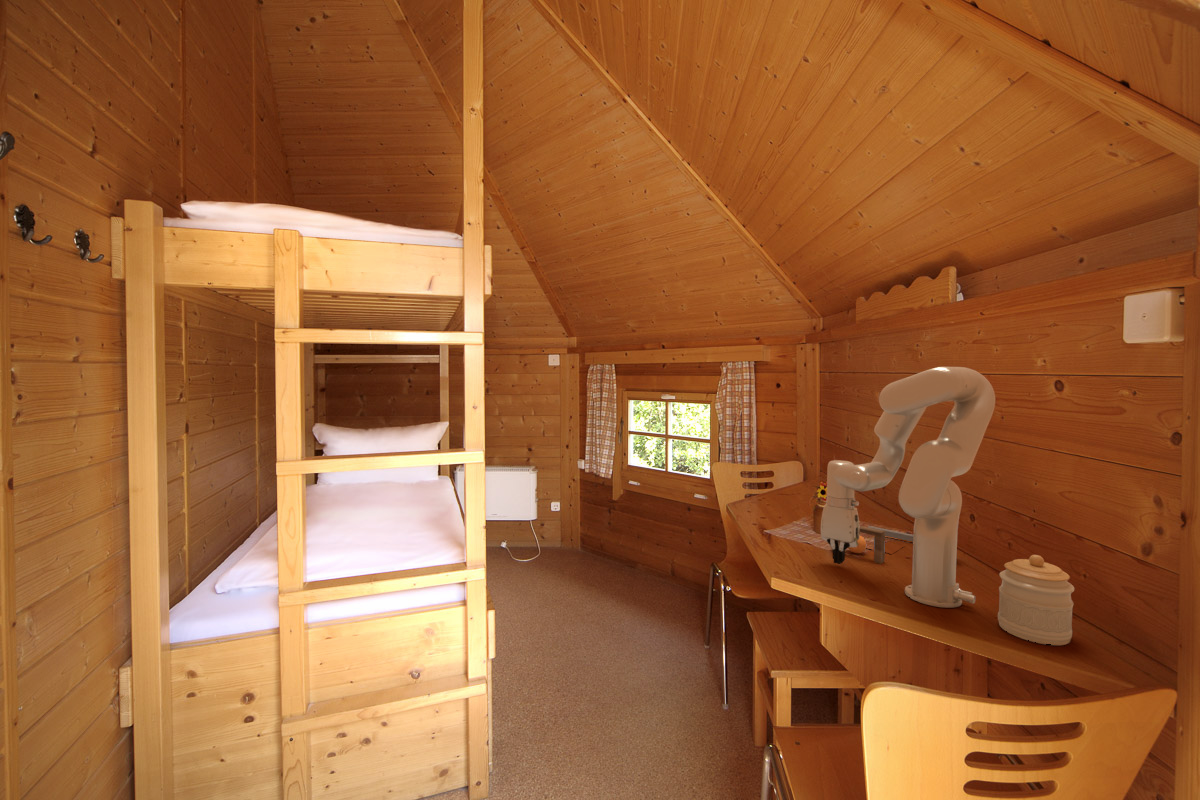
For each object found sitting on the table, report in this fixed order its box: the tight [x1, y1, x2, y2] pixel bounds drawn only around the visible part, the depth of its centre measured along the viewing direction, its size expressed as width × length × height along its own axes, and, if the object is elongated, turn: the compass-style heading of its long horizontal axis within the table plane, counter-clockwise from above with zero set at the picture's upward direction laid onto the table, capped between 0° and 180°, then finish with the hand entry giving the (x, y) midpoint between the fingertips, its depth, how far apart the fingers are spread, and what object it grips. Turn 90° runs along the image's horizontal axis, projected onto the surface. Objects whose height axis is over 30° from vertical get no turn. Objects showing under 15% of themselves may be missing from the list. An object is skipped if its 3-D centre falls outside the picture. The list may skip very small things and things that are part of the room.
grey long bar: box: [866, 525, 914, 542], centre depth 189 cm, size 16×2×2 cm, turn 43°
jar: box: [997, 554, 1075, 646], centre depth 119 cm, size 13×13×18 cm
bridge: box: [831, 525, 886, 565], centre depth 168 cm, size 3×15×10 cm, turn 43°
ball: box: [847, 534, 867, 554], centre depth 172 cm, size 6×6×6 cm
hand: (838, 562), depth 159 cm, fingers closed
